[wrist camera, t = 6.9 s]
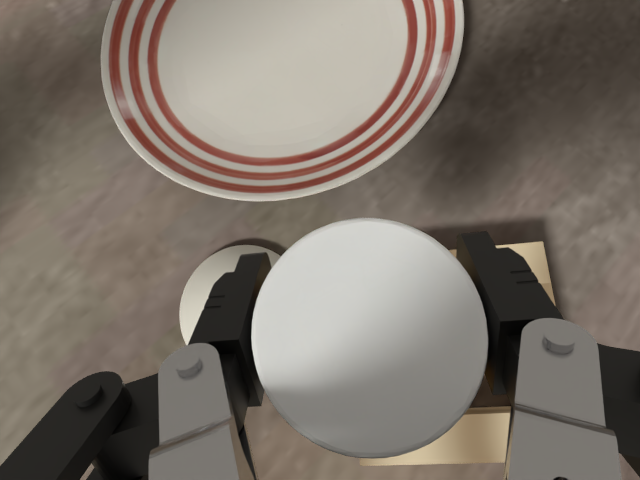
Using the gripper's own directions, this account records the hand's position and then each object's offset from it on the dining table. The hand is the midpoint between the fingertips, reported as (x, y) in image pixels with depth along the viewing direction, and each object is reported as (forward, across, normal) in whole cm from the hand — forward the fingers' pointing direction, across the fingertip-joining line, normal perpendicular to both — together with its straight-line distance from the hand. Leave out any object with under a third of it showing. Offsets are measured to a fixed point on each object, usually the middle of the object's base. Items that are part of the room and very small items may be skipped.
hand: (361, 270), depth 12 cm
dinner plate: (+27, +5, -3) cm, 28 cm away
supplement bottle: (+2, 0, +5) cm, 5 cm away
